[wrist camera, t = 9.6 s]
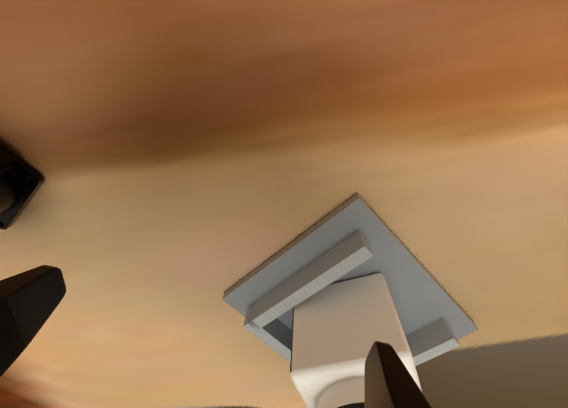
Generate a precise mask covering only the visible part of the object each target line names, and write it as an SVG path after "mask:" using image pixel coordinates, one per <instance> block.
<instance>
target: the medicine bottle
mask: <svg viewBox="0 0 568 408" xmlns="http://www.w3.org/2000/svg"><path fill="white" fill-rule="evenodd" d="M375 341H380V342H384V343H388V344H390V345H391V346H392V347H393V348H394V350H395V351H396V353H397V354H398V356H399V357H400V359H401V361H402V362H403V364H404V365H405V367H406V368H407V370H408V371H409V373H410V374H411V376H412V378H413V379H414V381H415V382H416V384H417V385H418V387H419V388H420V390H421V386H420V382H419V379H418V375H417V371H416V368H415V364H414V360H413V357H412V353H411V351H410V348H409V345H408V342H407V339H406V337H405V334H404V331H403V328H402V326H401V323H400V320H399V317H398V315H397V312H396V309H395V306H394V303H393V301H392V298H391V295H390V292H389V290H388V287H387V284H386V281H385V278H384V276H383V275H382V274H381V273H376V274H372V275H368V276H364V277H359V278H355V279H351V280H347V281H343V282H338V283H334V284H330V285H327V286H326V287H324V288H323V289H321V290H320V291H318V292H316V293H315V294H313V295H312V296H310V297H309V298H307V299H305V300H304V301H302V302H301V303H299V304H298V305H296V306H295V307H293V321H292V343H291V364H290V376H291V379H292V381H293V383H294V385H295V386H296V388H297V390H298V392H299V394H300V395H301V397H302V399H303V401H304V403H305V404H306V406H307V408H364V374H365V361H366V358H367V356H368V354H369V351H370V349H371V347H372V345H373V343H374V342H375ZM421 391H422V390H421Z"/></svg>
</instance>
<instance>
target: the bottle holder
mask: <svg viewBox="0 0 568 408" xmlns="http://www.w3.org/2000/svg"><path fill="white" fill-rule="evenodd" d="M376 273H381V274H382V275H383V276H384V278H385V281H386V284H387V287H388V290H389V292H390V295H391V298H392V301H393V303H394V306H395V309H396V312H397V315H398V317H399V320H400V323H401V326H402V328H403V331H404V334H405V337H406V339H407V342H408V345H409V348H410V351H411V353H412V357H413V360H414V364H415V366H417V365H419V364H421V363H423V362H425V361H428V360H430V359H432V358H434V357H436V356H439V355H441V354H443V353H445V352H447V351H449V350H452V349H454V348H456V347H458V346H460V344H459V342H458V340H457V339H459V338H461V337H463V336H465V335H468V334H470V333H472V332H474V331H476V330H478V328H477V326H476V325H475V323H474V322H473V320H472V319H471V318H470V317H469V316H468V315H467V314H466V313H465V312H464V311H463V309H462V308H461V307H460V306H459V305H458V304H457V303H456V302H455V301H454V299H453V298H452V297H451V296H450V295H449V294H448V293H447V292H446V291H445V289H444V288H443V287H442V286H441V285H440V284H439V283H438V282H437V281H436V280H435V278H434V277H433V276H432V275H431V274H430V273H429V272H428V271H427V270H426V268H425V267H424V266H423V265H422V264H421V263H420V262H419V261H418V260H417V258H416V257H415V256H414V255H413V254H412V253H411V252H410V251H409V250H408V249H407V247H406V246H405V245H404V244H403V243H402V242H401V241H400V240H399V239H398V237H397V236H396V235H395V234H394V233H393V232H392V231H391V230H390V229H389V228H388V226H387V225H386V224H385V223H384V222H383V221H382V220H381V219H380V218H379V216H378V215H377V214H376V213H375V212H374V211H373V210H372V209H371V208H370V206H369V205H368V204H367V203H366V202H365V201H364V200H363V199H362V198H361V197H360V195H359V194H358V193H356V194H355V195H354V196H352V197H351V198H350V199H348V200H347V201H346V202H344V203H343V204H342V205H340V206H339V207H338V208H336V209H335V210H334V211H332V212H331V213H330V214H328V215H327V216H326V217H324V218H323V219H322V220H320V221H319V222H318V223H316V224H315V225H314V226H312V227H311V228H310V229H308V230H307V231H306V232H304V233H303V234H302V235H300V236H299V237H298V238H296V239H295V240H294V241H292V242H291V243H290V244H288V245H287V246H286V247H284V248H283V249H282V250H280V251H279V252H278V253H276V254H275V255H274V256H272V257H271V258H270V259H268V260H267V261H266V262H264V263H263V264H262V265H260V266H259V267H258V268H256V269H255V270H254V271H252V272H251V273H250V274H248V275H247V276H246V277H244V278H243V279H242V280H240V281H239V282H238V283H236V284H235V285H234V286H232V287H231V288H230V289H228V290H227V291H226V292H225V293H224V296H223V300H224V301H226V302H227V303H228V304H229V305H231V306H232V307H233V308H235V309H236V310H237V311H238V312H240V313H241V314H242V315H244V316H245V322H244V326H243V327H245V328H246V329H247V330H249V331H250V332H251V333H253V334H254V335H255V336H257V337H258V338H259V339H261V340H262V341H263V342H264V343H266V344H267V345H268V346H270V347H271V348H272V349H274V350H275V351H276V352H278V353H279V354H280V355H282V356H283V357H284V358H285V359H287V360H288V361H289V362H291V343H292V321H293V307H295V306H296V305H298V304H299V303H301V302H302V301H304V300H305V299H307V298H309V297H310V296H312V295H313V294H315V293H316V292H318V291H320V290H321V289H323V288H324V287H326V286H327V285H330V284H334V283H338V282H343V281H347V280H351V279H355V278H359V277H364V276H368V275H372V274H376Z"/></svg>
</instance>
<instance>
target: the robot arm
mask: <svg viewBox="0 0 568 408" xmlns="http://www.w3.org/2000/svg"><path fill="white" fill-rule="evenodd" d="M33 178H34V179H35V180H34V179H33ZM42 182H43V178H42V176H41V175H40V174H39V173H38V172H37V171H35V170H34V169H33V168H31V167H30V166H29V165H27V164H26V163H25V162H24V161H22V160H21V159H20V158H18V157H17V156H16V155H14V154H13V153H12V152H10V151H9V150H8V149H6V148H5V147H4V146H2V145H1V144H0V229H3V230H4V229H7V228H9V227H11V226H12V225H13V223H14V222H15V220H16V219H17V217H18V216H19V215H20V213H21V212H22V210H23V209H24V208H25V206H26V205H27V203H28V202H29V201H30V199H31V198H32V196H33V195H34V194H35V192H36V191H37V189H38V188H39V186H40V185H41V184H42ZM65 293H66V286H65V282H64V278H63V275H62V271H61V270H60V269H59V268H57V267H53V266H49V265H43V266H39V267H37V268H34V269H31V270H28V271H26V272H23V273H20V274H17V275H15V276H12V277H9V278H6V279H4V280H1V281H0V377H1V376H2V375H3V374H4V373H5V372H6V370H7V369H8V368H9V367H10V366H11V365H12V364H13V362H14V361H15V360H16V359H17V358H18V357H19V356H20V354H21V353H22V352H23V351H24V350H25V348H26V347H27V346H28V345H29V343H30V342H31V341H32V339H33V338H34V337H35V335H36V334H37V333H38V331H39V330H40V329H41V327H42V326H43V324H44V323H45V322H46V320H47V319H48V318H49V316H50V315H51V314H52V312H53V311H54V310H55V308H56V307H57V305H58V304H59V303H60V301H61V300H62V299H63V297H64V295H65ZM364 408H432V407H431V405H430V404H429V402H428V401H427V399H426V398H425V396H424V394H423V393H422V391H421V390H420V388H419V387H418V385H417V384H416V382H415V381H414V379H413V378H412V376H411V374H410V373H409V371H408V370H407V368H406V367H405V365H404V364H403V362H402V361H401V359H400V357H399V356H398V354H397V353H396V351H395V350H394V348H393V347H392V346H391V345H390V344H388V343H384V342H380V341H375V342H374V343H373V345H372V347H371V349H370V351H369V354H368V356H367V358H366V361H365V374H364Z"/></svg>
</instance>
